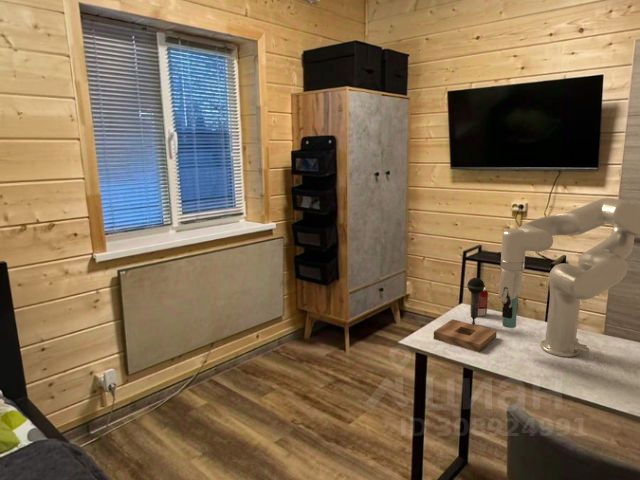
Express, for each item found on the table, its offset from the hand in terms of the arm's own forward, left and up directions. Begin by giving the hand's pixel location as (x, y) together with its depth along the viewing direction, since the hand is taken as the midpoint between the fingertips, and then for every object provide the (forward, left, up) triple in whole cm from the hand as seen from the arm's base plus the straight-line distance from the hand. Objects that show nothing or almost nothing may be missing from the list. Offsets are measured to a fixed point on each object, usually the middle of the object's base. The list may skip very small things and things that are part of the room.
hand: (509, 314), depth 159 cm
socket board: (+16, -2, -14) cm, 22 cm away
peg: (0, 0, -4) cm, 4 cm away
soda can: (+22, -29, -14) cm, 39 cm away
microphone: (+19, -17, -14) cm, 29 cm away
